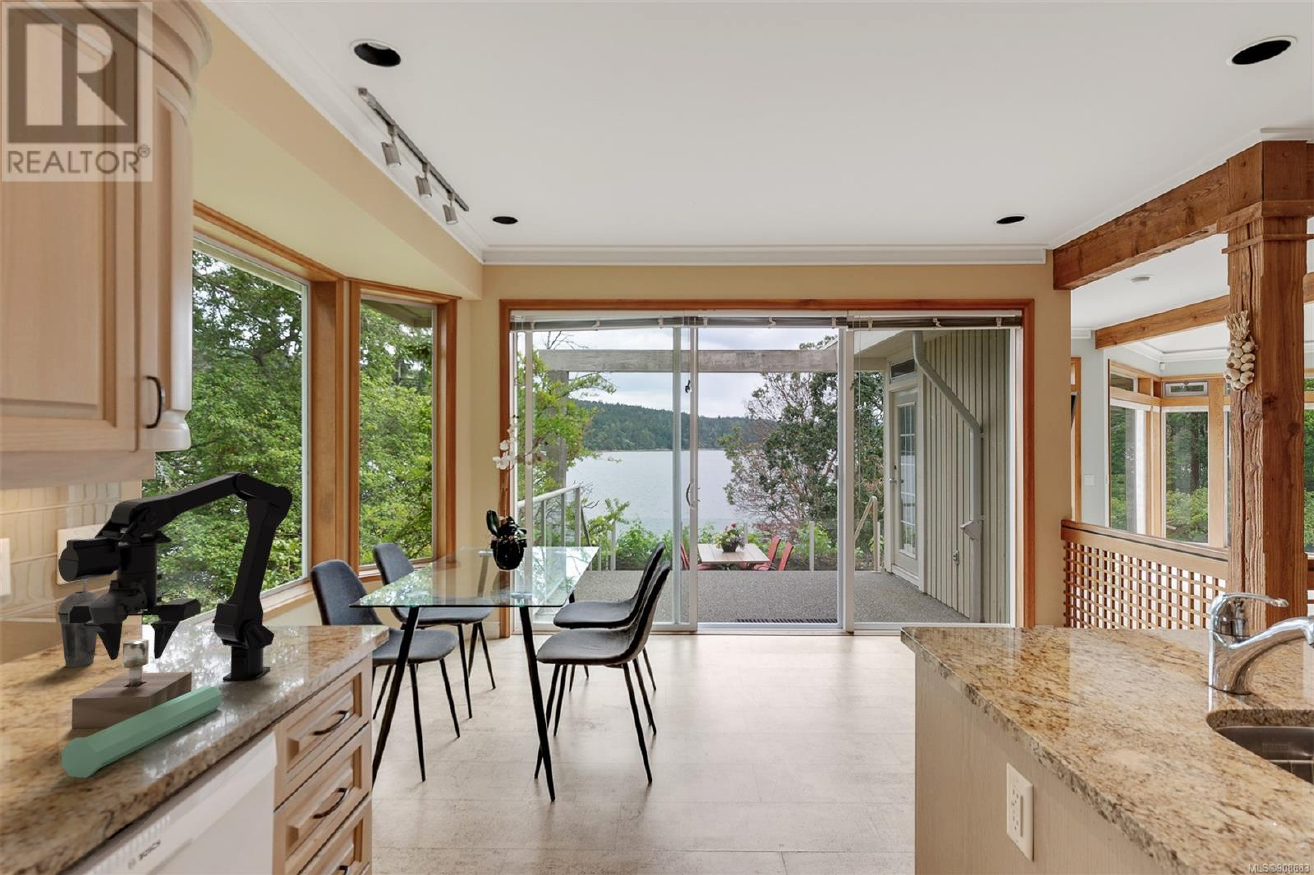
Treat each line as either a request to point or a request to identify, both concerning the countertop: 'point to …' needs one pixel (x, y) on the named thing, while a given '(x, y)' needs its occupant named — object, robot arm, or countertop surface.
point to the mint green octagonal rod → (137, 732)
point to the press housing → (127, 698)
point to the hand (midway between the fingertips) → (136, 658)
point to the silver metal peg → (135, 659)
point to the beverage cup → (77, 631)
